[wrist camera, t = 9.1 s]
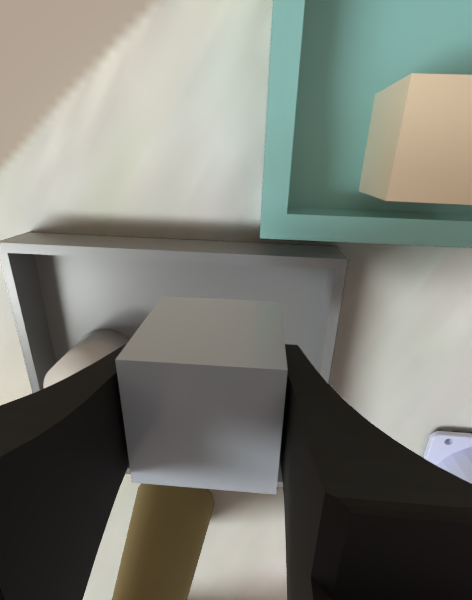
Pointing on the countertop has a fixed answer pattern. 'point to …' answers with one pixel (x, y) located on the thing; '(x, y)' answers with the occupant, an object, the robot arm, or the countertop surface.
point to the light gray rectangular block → (205, 394)
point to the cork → (163, 542)
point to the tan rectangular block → (421, 141)
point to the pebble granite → (85, 354)
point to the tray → (162, 288)
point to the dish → (351, 116)
